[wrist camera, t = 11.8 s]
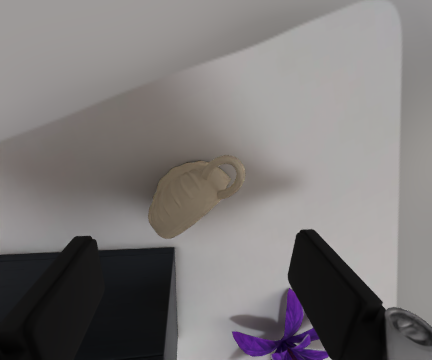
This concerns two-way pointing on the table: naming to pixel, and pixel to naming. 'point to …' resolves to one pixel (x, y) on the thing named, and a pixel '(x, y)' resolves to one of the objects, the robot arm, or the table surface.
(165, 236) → the decorative ornament
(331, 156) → the table surface
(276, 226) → the table surface
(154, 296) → the cabinet
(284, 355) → the decorative flower
